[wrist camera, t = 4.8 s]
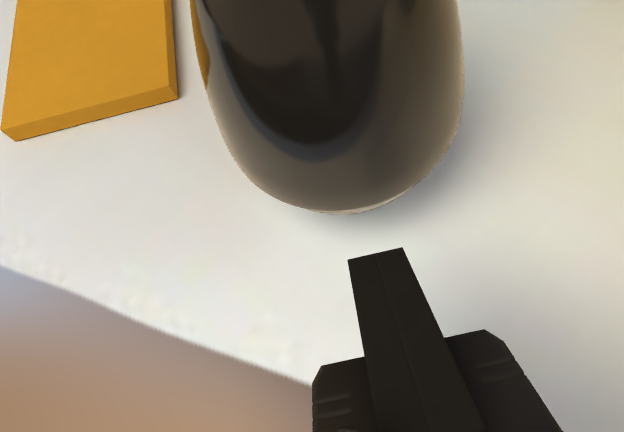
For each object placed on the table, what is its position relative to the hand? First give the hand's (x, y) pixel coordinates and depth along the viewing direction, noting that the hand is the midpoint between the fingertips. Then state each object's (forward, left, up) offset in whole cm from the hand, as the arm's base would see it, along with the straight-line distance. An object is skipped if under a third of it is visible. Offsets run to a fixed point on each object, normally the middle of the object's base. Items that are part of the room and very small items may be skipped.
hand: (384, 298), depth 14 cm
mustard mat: (+26, +2, -8) cm, 28 cm away
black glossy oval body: (+9, -4, -8) cm, 12 cm away
